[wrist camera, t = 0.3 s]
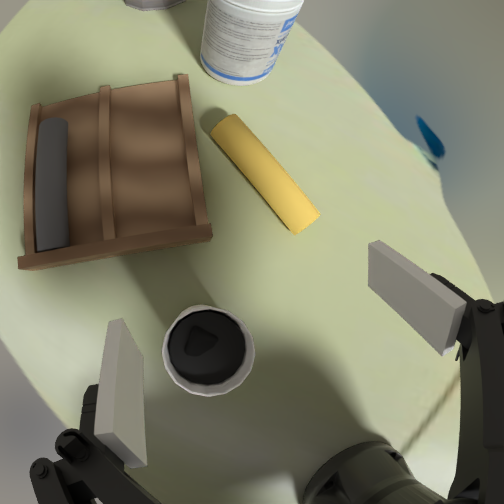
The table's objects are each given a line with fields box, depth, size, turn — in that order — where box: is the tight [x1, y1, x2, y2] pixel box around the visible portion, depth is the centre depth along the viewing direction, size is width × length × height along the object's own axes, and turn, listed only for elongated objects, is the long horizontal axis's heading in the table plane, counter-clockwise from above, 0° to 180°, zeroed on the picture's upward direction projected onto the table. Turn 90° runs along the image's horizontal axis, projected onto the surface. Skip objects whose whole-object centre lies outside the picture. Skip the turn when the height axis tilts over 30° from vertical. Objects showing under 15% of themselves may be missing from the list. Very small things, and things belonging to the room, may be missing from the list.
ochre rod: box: [211, 114, 320, 235], centre depth 32 cm, size 14×4×4 cm, turn 40°
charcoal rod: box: [35, 117, 70, 253], centre depth 27 cm, size 14×4×4 cm, turn 10°
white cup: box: [162, 304, 255, 397], centre depth 26 cm, size 7×7×10 cm
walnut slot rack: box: [17, 74, 213, 271], centre depth 29 cm, size 20×20×3 cm
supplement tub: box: [200, 0, 304, 86], centre depth 28 cm, size 10×10×15 cm
